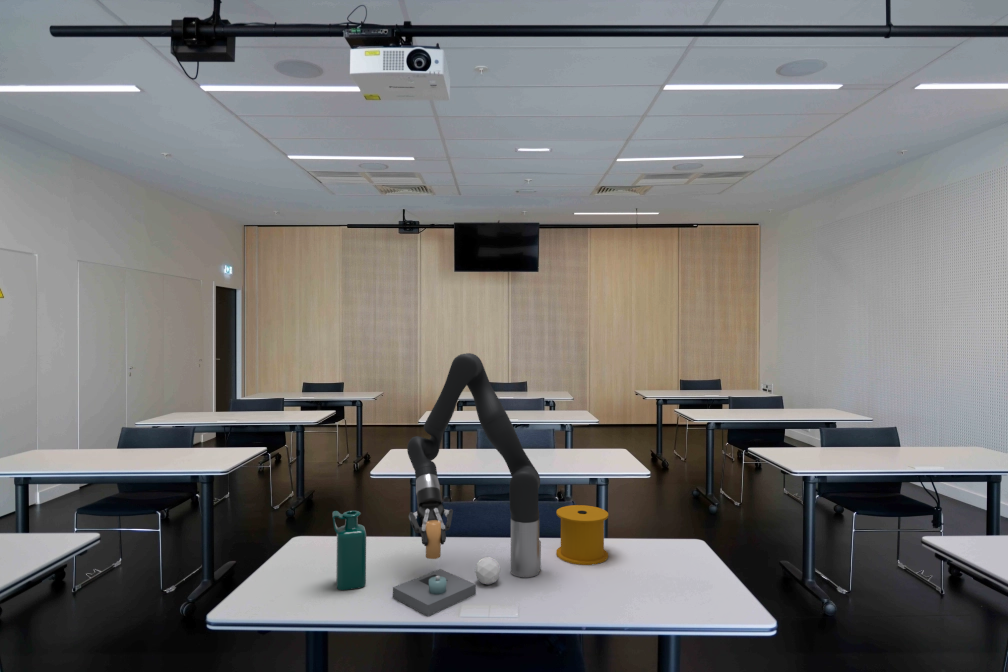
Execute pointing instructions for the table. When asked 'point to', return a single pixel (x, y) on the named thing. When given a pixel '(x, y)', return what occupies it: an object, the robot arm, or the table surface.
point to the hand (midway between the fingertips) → (434, 543)
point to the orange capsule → (433, 539)
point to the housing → (434, 591)
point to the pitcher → (350, 552)
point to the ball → (487, 570)
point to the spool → (582, 534)
